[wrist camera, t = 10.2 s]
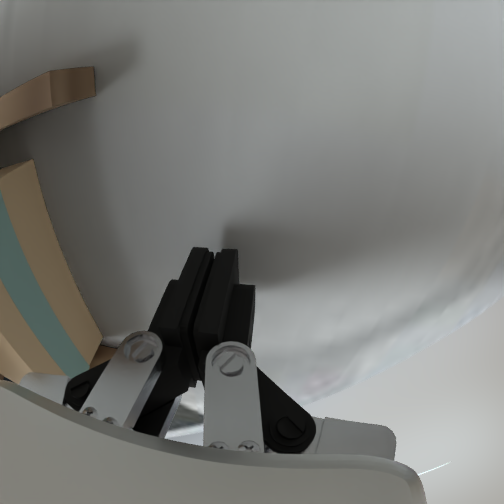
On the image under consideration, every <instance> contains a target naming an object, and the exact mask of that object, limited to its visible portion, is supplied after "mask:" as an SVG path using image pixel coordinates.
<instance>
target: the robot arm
mask: <svg viewBox="0 0 504 504" xmlns="http://www.w3.org/2000/svg"><path fill="white" fill-rule="evenodd" d="M254 313H255V285H242V284H239V272H238V250H237V249H222V251H221V252H217V253H216V256H215V259H214V253H213V252H209V250H208V248H200V247H193V248H192V250H191V253H190V255H189V257H188V259H187V262H186V264H185V266H184V268H183V271H182V273H181V275H180V277H179V280H173V279H172V280H171V281H170V282H169V284H168V286H167V288H166V290H165V293H164V295H163V297H162V299H161V301H160V304H159V306H158V308H157V311H156V313H155V315H154V317H153V320H152V322H151V324H150V327H149V329H148V331H138V332H135V333H132V334H130V335H129V336H127V337H126V338H125V339H124V340H123V342H122V343H121V345H120V346H119V348H118V349H117V351H116V352H115V354H114V355H113V357H112V359H110V360H108V361H106V362H104V363H102V364H99V365H97V366H95V367H93V368H91V369H89V370H87V371H85V372H83V373H81V374H79V375H77V376H75V377H74V378H72V379H70V378H69V376H62V375H52V374H44V373H36V372H30V373H28V374H26V375H24V377H23V378H22V379H21V381H20V383H19V385H18V384H15V383H12V382H9V381H4V380H0V504H427V502H426V497H425V492H424V488H423V485H422V482H421V480H420V478H419V476H418V475H417V473H416V472H415V471H414V470H413V469H411V468H410V467H408V466H406V465H404V464H402V463H399V462H397V461H394V457H395V450H396V437H395V435H394V433H393V431H392V430H390V429H389V428H388V427H386V426H382V425H375V424H367V423H360V422H353V421H345V420H340V419H334V418H328V417H325V419H322V418H316V417H312V416H311V415H310V414H309V413H308V412H307V411H305V410H304V409H303V408H302V407H301V406H300V405H298V404H297V403H296V402H295V401H294V400H293V399H292V398H291V397H289V396H288V395H287V394H286V393H285V392H284V391H283V390H282V389H280V388H279V387H278V386H277V385H276V384H275V383H274V382H273V381H272V380H271V379H270V378H268V377H267V376H266V375H265V374H264V373H263V372H262V371H261V370H260V369H259V368H258V367H257V366H256V358H255V355H254V353H253V351H252V350H251V342H252V333H253V324H254ZM197 380H199V381H201V380H202V383H203V386H204V390H205V393H204V436H203V446H198V445H193V444H187V443H182V442H177V441H173V440H168V439H164V438H165V436H166V433H167V431H168V429H169V426H170V424H171V422H172V420H173V417H174V415H175V413H176V410H177V408H178V406H179V404H180V401H181V398H182V394H183V393H185V392H187V391H188V388H189V387H194V388H195V387H196V383H197Z"/></svg>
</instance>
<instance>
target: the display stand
mask: <svg viewBox="0 0 504 504" xmlns="http://www.w3.org/2000/svg"><path fill="white" fill-rule="evenodd" d="M93 96H96V93H95V81H94V67H81V68H70V69H61V70H54V71H48V72H46V73H44V74H42V75H40V76H38V77H36V78H34V79H32V80H30V81H28V82H26V83H24V84H22V85H21V86H19V87H17V88H15V89H13V90H12V91H10V92H8V93H6V94H5V95H3V96H2V97H0V131H1V130H4V129H6V128H8V127H10V126H12V125H14V124H17V123H19V122H21V121H23V120H26V119H28V118H31V117H33V116H36V115H38V114H41V113H43V112H46V111H49V110H52V109H54V108H57V107H60V106H63V105H66V104H69V103H72V102H76V101H79V100H82V99H86V98H89V97H93ZM116 351H117V349H116V348H111V347H106V346H102V345H99V347H98V349H97V351H96V353H95V355H94V357H93V359H92V361H91V363H90V365H89V366H90V368H89V369H91V368H93V367H95V366H97V365H99V364H102V363H104V362H106V361H108V360H110V359H112V357H113V355H114V354H115V352H116ZM3 378H4V376H3V375H2V374H0V380H3Z"/></svg>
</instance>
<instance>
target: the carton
mask: <svg viewBox="0 0 504 504" xmlns="http://www.w3.org/2000/svg"><path fill="white" fill-rule="evenodd" d="M102 339H103V336H102V334H101V332H100V331H99V329H98V327H97V325H96V323H95V321H94V320H93V318H92V316H91V314H90V312H89V310H88V308H87V306H86V304H85V302H84V300H83V298H82V296H81V294H80V292H79V290H78V288H77V285H76V283H75V281H74V279H73V277H72V274H71V272H70V270H69V267H68V265H67V263H66V260H65V258H64V255H63V253H62V250H61V248H60V245H59V243H58V240H57V237H56V235H55V232H54V229H53V226H52V223H51V220H50V217H49V214H48V211H47V208H46V205H45V202H44V198H43V195H42V191H41V188H40V184H39V180H38V176H37V172H36V168H35V164H34V160H33V159H31V160H28V161H24V162H21V163H18V164H14V165H11V166H8V167H5V168H2V169H0V374H2V375H3V376H5V377H7V378H8V379H10V380H12V381H13V382H15V383H17V384H19V383H20V381H21V379H22V378H23V377H24V375H26V374H28V373H30V372H36V373H44V374H52V375H62V376H69V378H70V379H72V378H74V377H75V376H77V375H79V374H81V373H83V372H85V371H87V370H89V368H90V366H89V365H90V363H91V361H92V359H93V357H94V355H95V353H96V351H97V349H98V347H99V345H100V343H101V341H102Z"/></svg>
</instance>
